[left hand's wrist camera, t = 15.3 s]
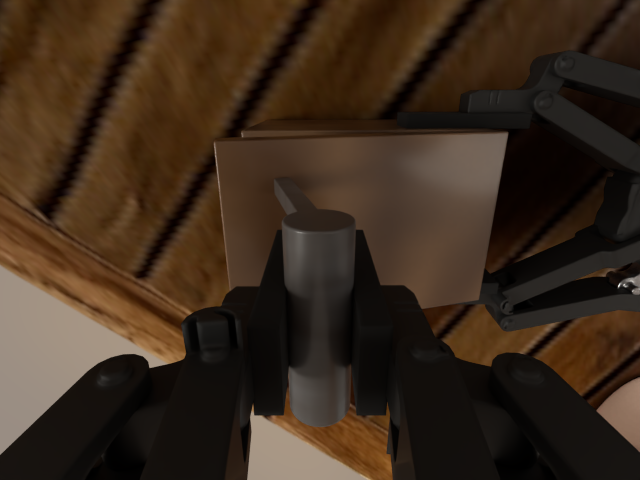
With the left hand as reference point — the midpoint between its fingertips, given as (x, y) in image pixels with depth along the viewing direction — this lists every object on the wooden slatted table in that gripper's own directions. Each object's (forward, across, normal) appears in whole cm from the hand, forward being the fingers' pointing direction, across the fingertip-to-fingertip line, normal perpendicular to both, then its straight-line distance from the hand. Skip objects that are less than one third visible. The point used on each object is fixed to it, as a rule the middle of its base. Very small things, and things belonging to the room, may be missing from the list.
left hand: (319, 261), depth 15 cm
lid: (+4, +2, 0) cm, 5 cm away
